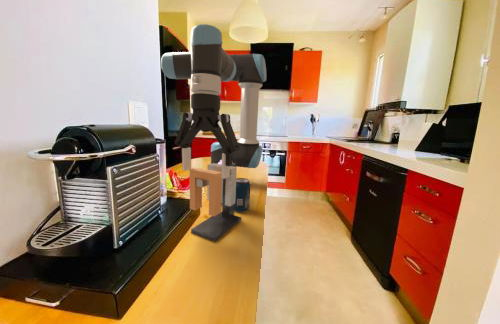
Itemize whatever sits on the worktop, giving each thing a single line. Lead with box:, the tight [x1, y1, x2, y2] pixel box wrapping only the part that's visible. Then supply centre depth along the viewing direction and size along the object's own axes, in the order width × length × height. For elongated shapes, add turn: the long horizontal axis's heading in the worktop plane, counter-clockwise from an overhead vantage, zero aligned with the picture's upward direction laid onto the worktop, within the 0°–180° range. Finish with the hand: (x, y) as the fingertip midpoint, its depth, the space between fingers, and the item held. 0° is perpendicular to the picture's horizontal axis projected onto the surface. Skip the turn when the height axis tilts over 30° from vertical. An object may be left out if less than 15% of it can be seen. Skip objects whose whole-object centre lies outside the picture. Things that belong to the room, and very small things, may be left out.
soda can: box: [234, 177, 251, 213], centre depth 78 cm, size 7×7×12 cm
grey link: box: [206, 163, 238, 206], centre depth 65 cm, size 3×9×12 cm, turn 63°
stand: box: [190, 163, 242, 243], centre depth 63 cm, size 16×9×20 cm, turn 153°
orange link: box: [188, 167, 222, 217], centre depth 57 cm, size 3×9×12 cm, turn 63°
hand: (205, 173), depth 56 cm, fingers open, 13 cm apart
